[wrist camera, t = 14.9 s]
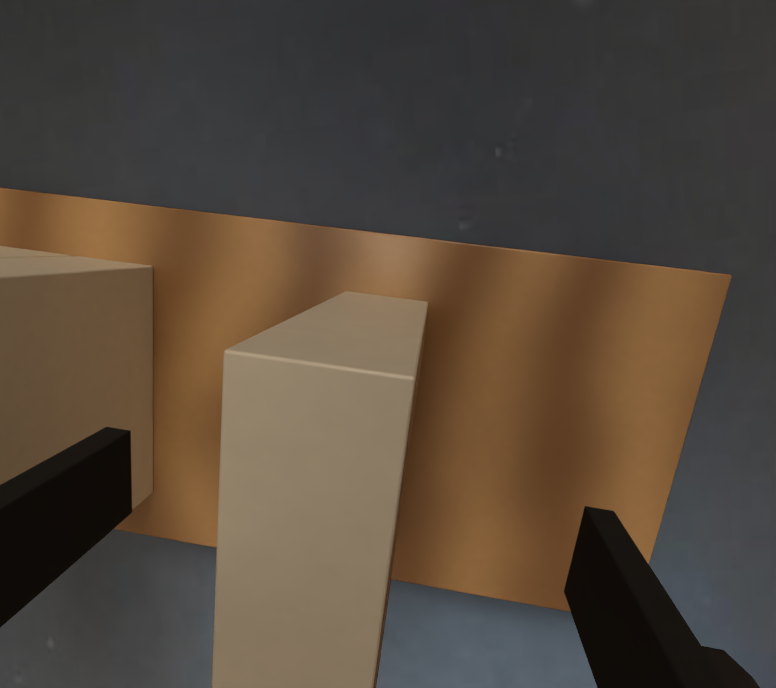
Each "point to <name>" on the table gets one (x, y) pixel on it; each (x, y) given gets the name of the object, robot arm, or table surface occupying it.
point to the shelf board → (423, 376)
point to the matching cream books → (74, 358)
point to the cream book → (313, 492)
